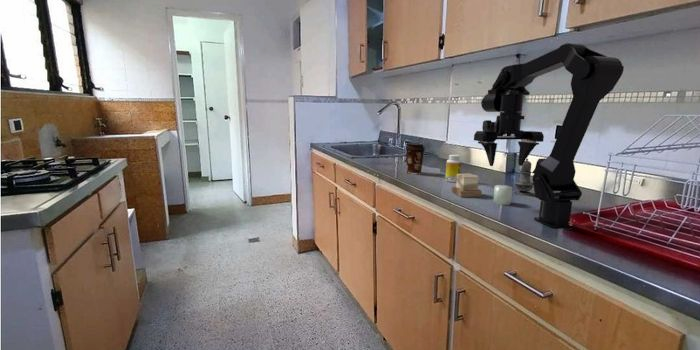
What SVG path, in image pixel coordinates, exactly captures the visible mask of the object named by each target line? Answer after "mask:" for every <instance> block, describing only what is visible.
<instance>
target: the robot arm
mask: <svg viewBox="0 0 700 350" xmlns="http://www.w3.org/2000/svg"><path fill="white" fill-rule="evenodd" d="M563 67H564V70H566V71H567V72H568V73H570V74H571V75H572V76H571V81H570V88H571V93H572V99H571V101H570V104H569V107H568V109H567V111H566V114H565V117H564V119H563V122H562V124H561V127H560V129H559V132H558V134H557V136H556V139H555V141H554V144H553V147H552V150H551V152H550V154H549V155H548V156H547V157H546V158H538V159H537V160H536V163H535V167H534V170H533V171H531V172H532V173H531V174H533V176H532V183H533V192H534V196H535V197H534V198H535V199H538V200H540V205H539V206H540V207H539V215H538V216H534V217H533V220H535V221H537V222H539V223H541V224H542V225H545V226H548V227H549V228H567V227H568V228H569V227H570V225H569V223H568V222H569V221H571V220H570V219H571V214H572V206H573V201H580V199H581V197H582V195H583V193H582V190H581V189H580V187H579V186H578V184H577V183H576V181H575V176H576V166H575V163H574V160H575V157H576V155H577V153H578V151H579V149H580V146H581V144H582V141H583V139H584V137H585V135H586V133H587V130H588V127H589V126H590V123H591V121H592V119H593V117H594V114H595V112H596V109H597V108H598V105H599V103H600V102H601V100H603V99H604V98H605V97H606V96H607V95H608V94H609V93H611V92H612V91H613V90H614V88H615V87H616V85H617V83H619V81H620V79H621V77H622V76H623V73H624V65H623V63H622V61H621V60H620V59H619V58H617V57H614V56H613V57H612V56H607V55H606V54H602V53H601V52H600V53H599V52H598V51H595V50H593V49H591V48H588V47H587V46H586V45H584V44H581V43H573V42H572V43H569V42H567V43H566V42H565V43H564V44H562V45H560V46H559V47H558V48H555V49H553V50H551V51H548V52H545V53H544V54H542V55H540V56H538V57H535V58H533V59H531V60H529V61H526V62H524V63H518V64H511V65H510V64H509V65H507V66H504V67H503V68H502V69H501V70H500V72H499V74H498V75H497V78H496V79H495V82H494V83H493V84H492V86H491V89H488V90H487V94H485V95H484V96H483V98H482V100H481V102H480V104H481V108H482V110H484V112H487V113H499V115H496V118H495V119H496V120H495V121H492V120H490V119H489V120H488V119H487V120H486V119H485V120H483V122H482V130H476V131H475V133H474V135H473V141H476V142H477V143H478V144H479V145H481V146H482V148H483V149H484V151H485V154H486V157H487V161H488V164H489V166H490V167H493V166H494V164H495V159H496V153H497V148H498V143H497V142H495V141H497V140H517V143H518V147H519V151H518V159H517V160H518V166H522V165H523V163H524V161H526V159H528V157H529V155H530V154H531V152H532V151H533V150H534V149H535V148H536V146H538V145H540V142H544V139H545V138H544V137H545V135H544V133H543V132H542V131H534V130H521V126H522V120H525V115H523V105H524V104H523V103H524V96H529V95H530V91H528V89H526V87H527V86H529V85H530V84H532V83H533V82H534V80H535V79H536V78H538V77H540V76H543V75H545V74H547V73H551V72H553V71H556V70H559V69H561V68H563ZM518 140H521V141H518Z"/></svg>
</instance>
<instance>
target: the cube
mask: <svg viewBox="0 0 700 350" xmlns="http://www.w3.org/2000/svg"><path fill="white" fill-rule="evenodd" d="M479 177H480V176H479V175H476V174H472V173H461V174H457V182H455V183H456V184H455V186H456V187H457V188H459V189H461V190H478V189H479V188H478V187H479Z"/></svg>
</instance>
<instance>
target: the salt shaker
mask: <svg viewBox="0 0 700 350" xmlns="http://www.w3.org/2000/svg"><path fill="white" fill-rule="evenodd" d="M532 172H533V171H532V162H531V161H529V158H526V160H525V161H524V163H523V165H522V166H521V168H520V170H519V174H520V175H519V180H517V181H514V184H515V188H516V189H517V190H516V191H514V194H515V195H519V196H525V197H526V196H527V197H528V196H533V194H532V192H530V191H531V190H532V189H534V185H533V182H531V174H533V173H532Z"/></svg>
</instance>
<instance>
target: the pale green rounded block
mask: <svg viewBox="0 0 700 350" xmlns="http://www.w3.org/2000/svg"><path fill="white" fill-rule="evenodd" d="M512 192H513V187H512V186H511V185H510V186H509V185H503V184H496V185H494V190H493V201H492V202H493V204H495V205H500V206H510V205H511V203H512V202H511V201H512V194H513V193H512Z"/></svg>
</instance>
